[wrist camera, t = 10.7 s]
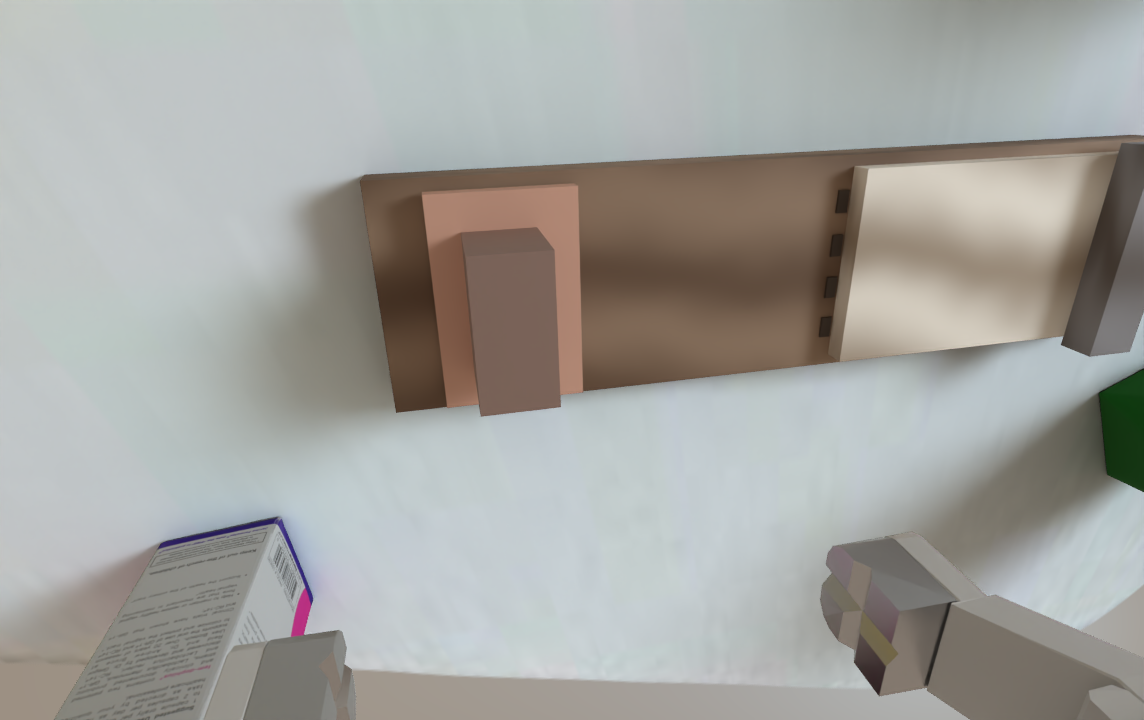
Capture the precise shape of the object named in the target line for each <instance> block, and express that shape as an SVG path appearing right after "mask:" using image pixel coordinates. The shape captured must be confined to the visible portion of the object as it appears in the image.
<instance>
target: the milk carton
mask: <svg viewBox="0 0 1144 720" xmlns="http://www.w3.org/2000/svg"><path fill="white" fill-rule="evenodd" d="M1099 397H1100V407H1101V417H1102V427H1103V438H1104V448H1105V458H1106V468H1107V475H1109V476H1111V477H1113V478H1115V479H1117V480H1119V481H1121V482H1124V483H1126V484H1128V485H1130V486H1132V487H1134V488H1136V489H1138V490H1140V491H1143V492H1144V369H1143V370H1141V371H1140V372H1138V373H1136V374H1134V375H1132V376H1130V377H1128V378H1127V379H1125V380H1123V381H1121V382H1119V383H1117V384H1115V385H1114V386H1112V387H1110V388H1108V389H1106V390H1104V391H1102V392H1100V393H1099Z"/></svg>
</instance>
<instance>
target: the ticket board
mask: <svg viewBox="0 0 1144 720" xmlns="http://www.w3.org/2000/svg"><path fill="white" fill-rule="evenodd" d="M570 183H574V184H576V185H577V186H578V203H579V245H580V286H581V328H582V370H583V391H589V390H598V389H607V388H615V387H624V386H633V385H642V384H650V383H659V382H668V381H676V380H685V379H694V378H703V377H711V376H720V375H729V374H737V373H746V372H755V371H763V370H772V369H781V368H790V367H798V366H807V365H816V364H824V363H833V362H842V361H851V360H859V359H868V358H877V357H886V356H894V355H903V354H912V353H920V352H929V351H938V350H946V349H955V348H964V347H973V346H981V345H990V344H999V343H1007V342H1016V341H1025V340H1034V339H1042V338H1051V337H1060V336H1064V337H1063V340H1062V343H1061V345H1062V346H1065V347H1067V348H1070V349H1072V350H1075V351H1077V352H1080V353H1082V354H1085V355H1087V356H1098V355H1107V354H1115V353H1123V352H1130V349H1131V346H1132V343H1133V341H1134V338H1135V335H1136V332H1137V329H1138V326H1139V323H1140V320H1141V317H1142V315H1143V312H1144V136H1141V135H1122V136H1103V137H1083V138H1064V139H1045V140H1025V141H1006V142H987V143H968V144H948V145H929V146H910V147H891V148H871V149H852V150H833V151H813V152H794V153H775V154H756V155H736V156H717V157H698V158H678V159H659V160H640V161H621V162H601V163H582V164H563V165H543V166H524V167H505V168H486V169H466V170H447V171H428V172H409V173H389V174H370V175H364V177H363V178H362V179H361V180H360V184H361V191H362V197H363V204H364V210H365V217H366V223H367V229H368V236H369V242H370V249H371V255H372V261H373V268H374V274H375V281H376V287H377V293H378V300H379V306H380V313H381V319H382V325H383V332H384V338H385V345H386V351H387V357H388V364H389V370H390V377H391V383H392V389H393V396H394V402H395V409H396V413H398V412H406V411H415V410H424V409H433V408H441V407H447V401H446V393H445V385H444V376H443V368H442V359H441V351H440V343H439V334H438V326H437V318H436V309H435V301H434V293H433V284H432V276H431V268H430V259H429V251H428V242H427V234H426V226H425V217H424V209H423V201H422V192H430V191H448V190H465V189H483V188H500V187H518V186H535V185H553V184H570Z"/></svg>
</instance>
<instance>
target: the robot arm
mask: <svg viewBox="0 0 1144 720" xmlns="http://www.w3.org/2000/svg"><path fill="white" fill-rule="evenodd" d="M826 566H827V567H828V568H829V570H830V571H831V572H832V574H831V575H830V576H829V577H828V578H827V580H826V581H825V582H824V583H823V584H822V590H821V598H820V601H821V606H822V610H823V615H824V618H825V620H826V622H827V624H828V626H829V628H830V630H831V631H832V633H833V634H834V636H835V637H836V638H837V640H838V641H840V642H841V643H843V644H845V645H847V646H849V647H850V648H852V649H854V663H855V664H856V666H857V667H858V668H859V670H860V671H861V672H862V674H863V675H864V677H865V678H866V679H867V681H868V682H869V683H870V685H871V686H872V687H873V689H874V690H875V691H876V693H877V694H878V695H879V696H883V695H889V694H895V693H900V692H906V691H911V690H916V689H922V688H927V691H928V692H930V693H931V694H933V695H934V696H936V697H937V698H939V699H940V700H942V701H943V702H945V703H946V704H948V705H949V706H951V707H952V708H954V709H955V710H956V711H958V712H959V713H961V714H962V715H964V716H966V717H967V718H968V719H970V720H1144V658H1143V657H1140V656H1138V655H1136V654H1134V653H1131V652H1129V651H1126V650H1124V649H1122V648H1119V647H1117V646H1115V645H1112V644H1110V643H1108V642H1105V641H1103V640H1101V639H1098V638H1096V637H1094V636H1091V635H1089V634H1087V633H1084V632H1082V631H1079V630H1077V629H1075V628H1072V627H1070V626H1068V625H1065V624H1063V623H1061V622H1058V621H1056V620H1054V619H1051V618H1049V617H1047V616H1044V615H1042V614H1039V613H1037V612H1035V611H1032V610H1030V609H1028V608H1025V607H1023V606H1021V605H1018V604H1016V603H1014V602H1011V601H1009V600H1007V599H1004V598H1002V597H999V596H997V595H992V596H987V595H986V594H984V593H983V592H982V591H981V590H980V589H979V588H978V587H977V586H976V585H975V584H974V583H972V582H971V581H970V580H969V579H968V578H967V577H966V576H965V575H964V574H963V573H961V572H960V571H959V570H958V569H957V568H956V567H955V566H954V565H953V564H952V563H950V562H949V561H948V560H947V559H946V558H945V557H944V556H943V555H942V554H941V553H940V552H938V551H937V550H936V549H935V548H934V547H933V546H932V545H931V544H930V543H929V542H927V541H926V540H925V539H924V538H923V537H922V536H920V535H919V534H916V533H914V532H908V533H902V534H897V535H891V536H886V537H884V538H882V537H881V538H875V539H870V540H864V541H859V542H853V543H847V544H842V545H836V546H833V547H832V548H831V549H830V551H829V552H828V555H827V560H826ZM346 649H347V647H346V644H345V640H344V636H343V632H342V631H340V630H335V631H328V632H321V633H314V634H307V635H301V636H294V637H287V638H280V639H273V640H270V641H265V642H258V643H250V644H243V645H236V646H234V647H233V648H232V650H231V651H230V652H229V653H228V655H227V656H226V659H225V662H224V664H223V667H222V670H221V673H220V675H219V678H218V681H217V684H216V686H215V689H214V692H213V695H212V697H211V700H210V703H209V706H208V708H207V711H206V714H205V717H204V719H203V720H355V719H356V695H355V694H356V693H355V684H354V678H353V674H352V669H350V668H349V667H348V666H346V665H345V664H344V663H345V656H346Z"/></svg>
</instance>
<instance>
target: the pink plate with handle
mask: <svg viewBox="0 0 1144 720" xmlns="http://www.w3.org/2000/svg"><path fill="white" fill-rule="evenodd" d="M422 201H423V209H424V217H425V226H426V234H427V242H428V251H429V259H430V268H431V276H432V284H433V293H434V301H435V309H436V318H437V326H438V334H439V343H440V351H441V359H442V368H443V376H444V385H445V393H446V401H447V408H451V407H459V406H468V405H477V404H479V407H480V414H481V416H489V415H498V414H506V413H515V412H523V411H532V410H540V409H548V408H557V407H561V400H560V395H563V394H572V393H581V392H583V370H582V328H581V286H580V245H579V203H578V186H577V185H576V184H574V183H570V184H553V185H535V186H518V187H500V188H483V189H465V190H448V191H430V192H422Z"/></svg>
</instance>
